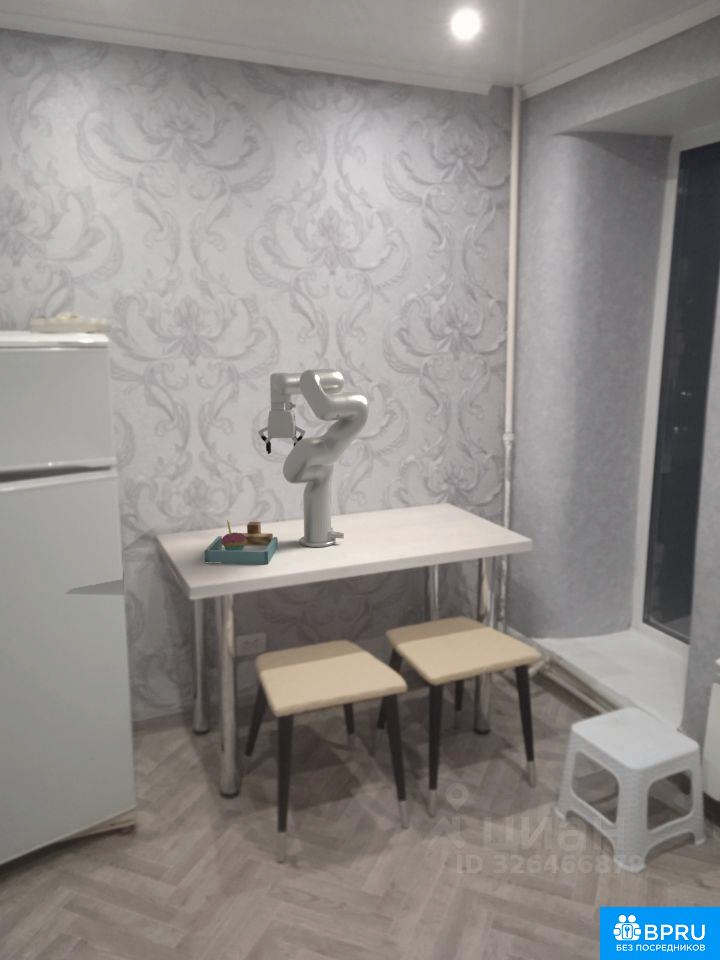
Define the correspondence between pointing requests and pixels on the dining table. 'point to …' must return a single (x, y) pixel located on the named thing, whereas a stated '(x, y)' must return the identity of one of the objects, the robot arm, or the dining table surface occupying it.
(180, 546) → the dining table surface
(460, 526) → the dining table surface
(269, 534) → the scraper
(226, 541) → the cupcake
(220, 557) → the tray
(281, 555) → the dining table surface
